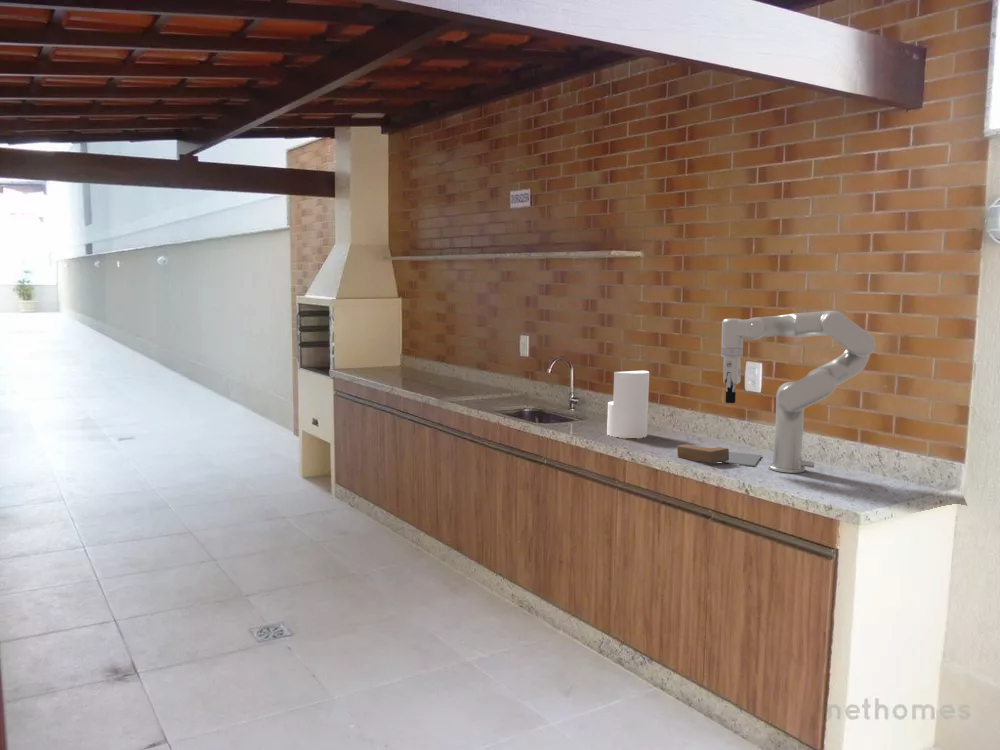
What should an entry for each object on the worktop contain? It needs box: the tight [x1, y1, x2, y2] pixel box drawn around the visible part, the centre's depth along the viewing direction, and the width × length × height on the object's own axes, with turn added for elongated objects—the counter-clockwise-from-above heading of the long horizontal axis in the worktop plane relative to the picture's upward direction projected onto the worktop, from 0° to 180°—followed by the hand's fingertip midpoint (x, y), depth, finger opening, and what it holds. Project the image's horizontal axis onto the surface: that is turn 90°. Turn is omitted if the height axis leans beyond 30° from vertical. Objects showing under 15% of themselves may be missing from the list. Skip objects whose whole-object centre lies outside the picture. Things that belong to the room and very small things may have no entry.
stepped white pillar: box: [606, 370, 650, 439], centre depth 356 cm, size 17×17×28 cm
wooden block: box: [676, 443, 730, 464], centre depth 308 cm, size 9×4×18 cm
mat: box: [721, 451, 763, 468], centre depth 312 cm, size 20×20×1 cm
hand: (730, 402), depth 299 cm, fingers closed
